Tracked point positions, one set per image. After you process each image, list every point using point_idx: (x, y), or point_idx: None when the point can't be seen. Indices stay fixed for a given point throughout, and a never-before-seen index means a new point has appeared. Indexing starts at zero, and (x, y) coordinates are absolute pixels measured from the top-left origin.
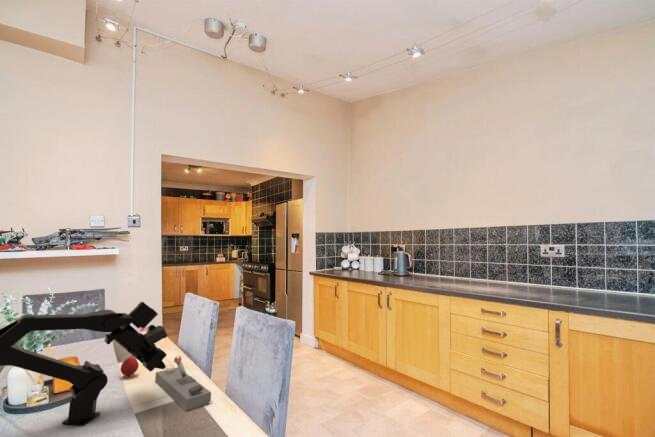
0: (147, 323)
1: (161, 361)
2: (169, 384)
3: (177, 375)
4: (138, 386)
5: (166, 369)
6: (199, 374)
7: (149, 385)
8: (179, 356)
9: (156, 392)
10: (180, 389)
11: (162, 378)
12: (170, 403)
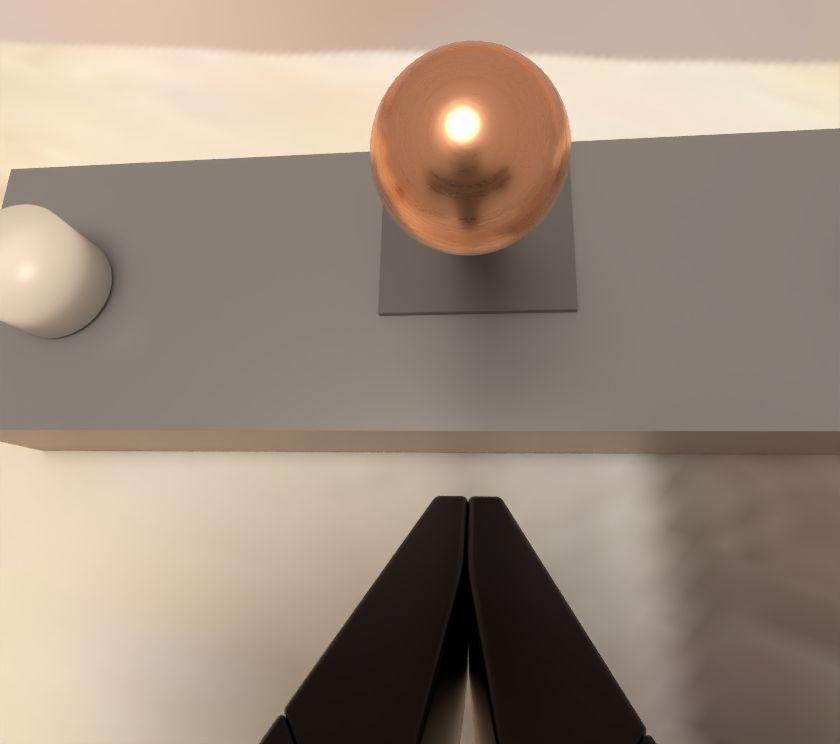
0: None
1: (637, 739)
2: (456, 432)
3: (250, 256)
4: (17, 643)
5: (37, 320)
6: (197, 54)
7: (83, 531)
8: (498, 57)
9: (314, 536)
10: (723, 379)
11: (194, 431)
12: (695, 515)
